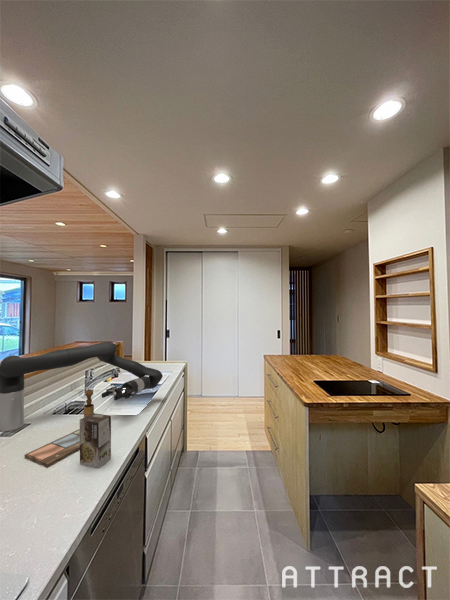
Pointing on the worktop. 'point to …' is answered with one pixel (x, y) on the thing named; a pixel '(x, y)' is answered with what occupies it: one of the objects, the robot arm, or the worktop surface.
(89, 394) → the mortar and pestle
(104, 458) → the coffee box
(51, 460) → the tile board
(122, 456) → the worktop surface
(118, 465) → the worktop surface
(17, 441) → the worktop surface
